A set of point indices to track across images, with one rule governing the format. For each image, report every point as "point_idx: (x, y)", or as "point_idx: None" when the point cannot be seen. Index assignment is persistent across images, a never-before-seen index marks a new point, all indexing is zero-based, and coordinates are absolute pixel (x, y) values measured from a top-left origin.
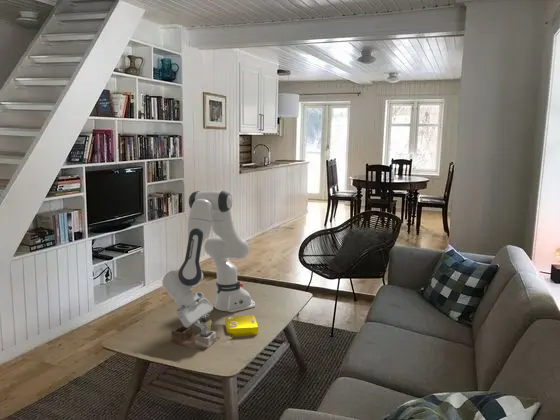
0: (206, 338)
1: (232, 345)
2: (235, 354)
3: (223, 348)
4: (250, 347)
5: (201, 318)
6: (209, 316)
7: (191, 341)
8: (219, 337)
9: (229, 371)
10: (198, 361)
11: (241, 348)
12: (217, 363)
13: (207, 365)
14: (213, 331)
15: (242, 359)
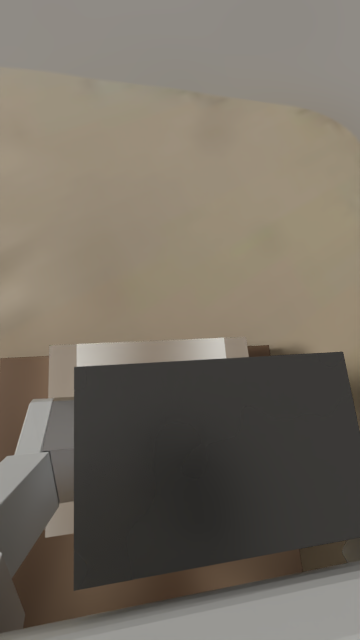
0: (245, 354)
1: (57, 238)
2: (169, 170)
3: (130, 274)
4: (37, 122)
5: (355, 508)
6: (144, 365)
7: (196, 570)
8: (4, 369)
9: (336, 132)
10: (354, 328)
11: (76, 167)
12: (310, 217)
13: (357, 255)
14: (57, 387)
15: (203, 117)
